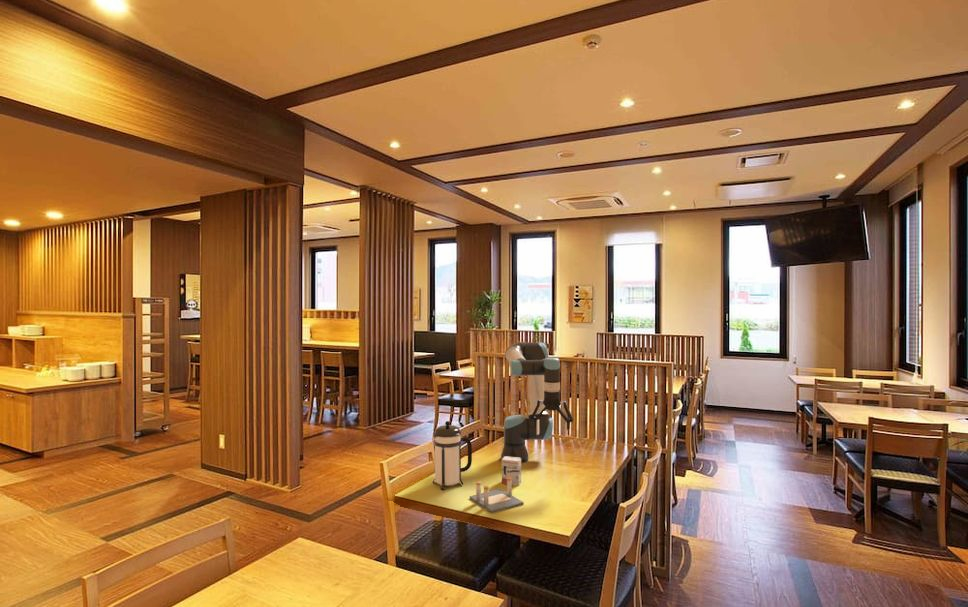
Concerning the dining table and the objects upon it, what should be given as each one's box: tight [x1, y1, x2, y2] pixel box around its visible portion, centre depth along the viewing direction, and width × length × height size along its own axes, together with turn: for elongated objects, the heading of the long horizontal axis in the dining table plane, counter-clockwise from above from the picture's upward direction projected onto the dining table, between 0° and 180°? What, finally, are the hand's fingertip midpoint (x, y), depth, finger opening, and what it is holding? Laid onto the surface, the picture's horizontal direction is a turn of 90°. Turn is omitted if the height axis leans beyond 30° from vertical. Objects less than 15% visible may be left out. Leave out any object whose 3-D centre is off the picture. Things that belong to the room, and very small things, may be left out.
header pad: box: [469, 477, 525, 514], centre depth 210 cm, size 18×16×9 cm
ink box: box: [501, 456, 522, 486], centre depth 232 cm, size 8×5×12 cm, turn 72°
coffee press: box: [432, 420, 473, 491], centre depth 231 cm, size 17×16×30 cm
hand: (552, 435), depth 232 cm, fingers open, 13 cm apart
